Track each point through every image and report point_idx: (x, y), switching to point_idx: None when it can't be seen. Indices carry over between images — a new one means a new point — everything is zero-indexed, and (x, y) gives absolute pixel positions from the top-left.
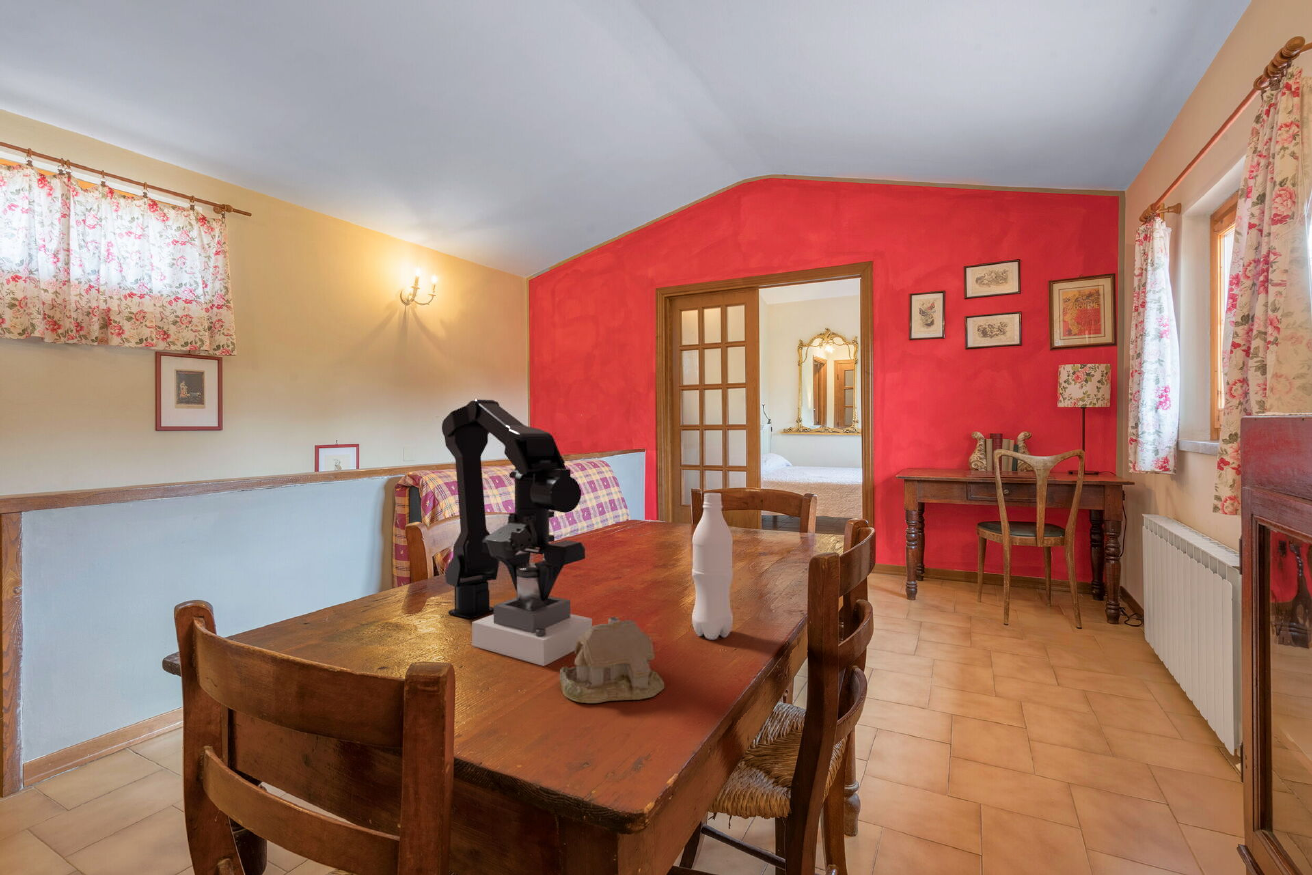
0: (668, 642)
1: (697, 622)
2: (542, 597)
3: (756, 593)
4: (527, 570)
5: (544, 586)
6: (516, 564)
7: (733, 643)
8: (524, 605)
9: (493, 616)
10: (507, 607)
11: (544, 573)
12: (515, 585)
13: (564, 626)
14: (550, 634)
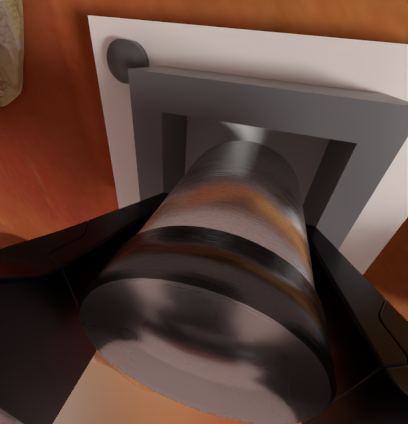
0: (60, 228)
1: None
2: (157, 196)
3: (102, 357)
4: (129, 275)
5: (104, 214)
6: (369, 417)
7: (10, 241)
8: (230, 149)
9: None
10: (312, 108)
11: (13, 253)
12: (333, 254)
13: (131, 161)
14: (113, 83)
